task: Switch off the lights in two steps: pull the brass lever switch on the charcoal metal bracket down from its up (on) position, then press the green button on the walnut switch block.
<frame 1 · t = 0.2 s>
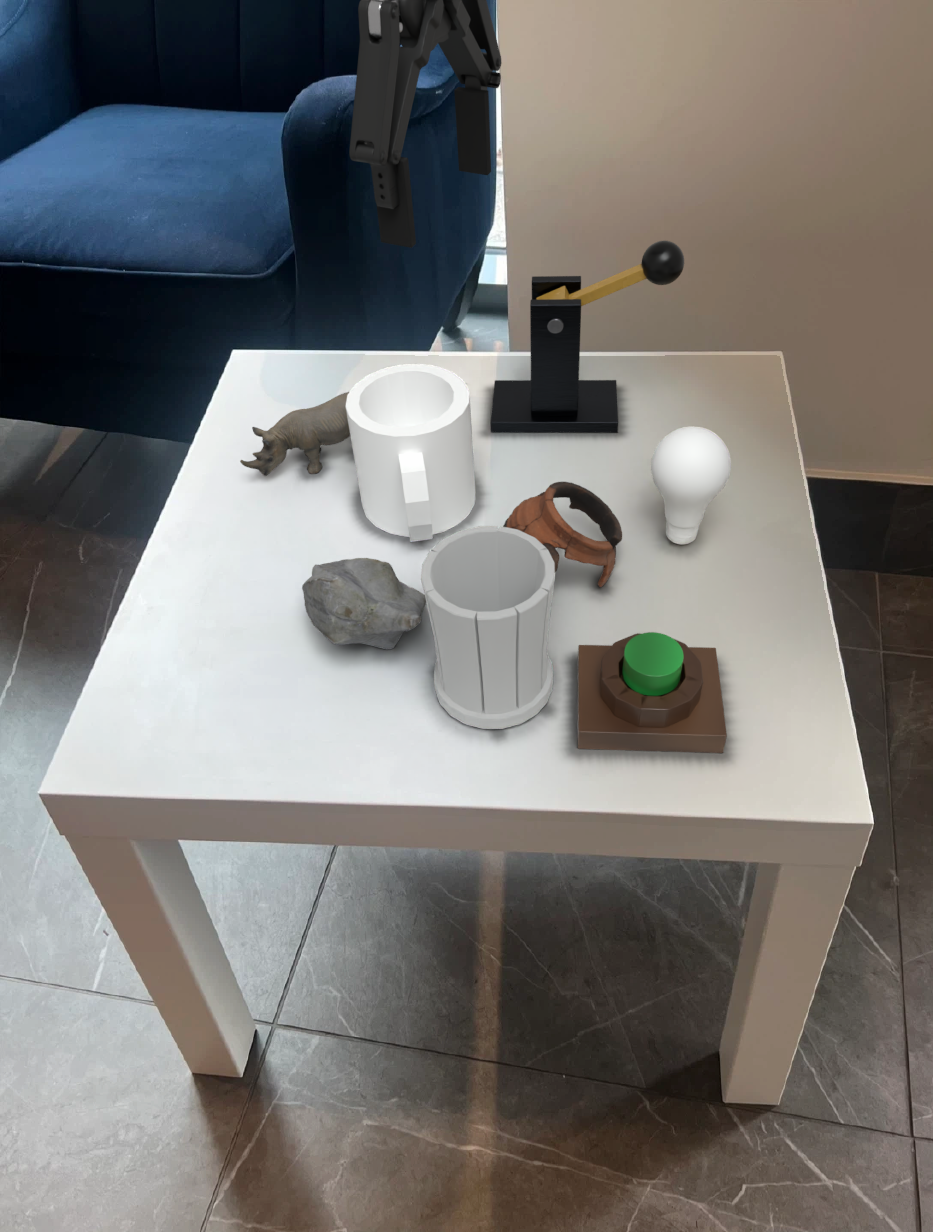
hand: (438, 205, 82), 21 cm above the table, tool pointing down, fingers open, 13 cm apart
lightbulb: (680, 542, 84), on the table
broken clay pot: (547, 578, 82), on the table
button block: (647, 705, 73), on the table
cup: (484, 681, 75), on the table
fossil: (372, 637, 79), on the table
switch bracket: (554, 410, 98), on the table
mug: (418, 508, 89), on the table
switch lever: (610, 285, 88), point 13 cm above the table, hinge at 25.0°
light button: (652, 663, 69), point 5 cm above the table, slide at 0.1 cm
rhino figurine: (315, 463, 94), on the table
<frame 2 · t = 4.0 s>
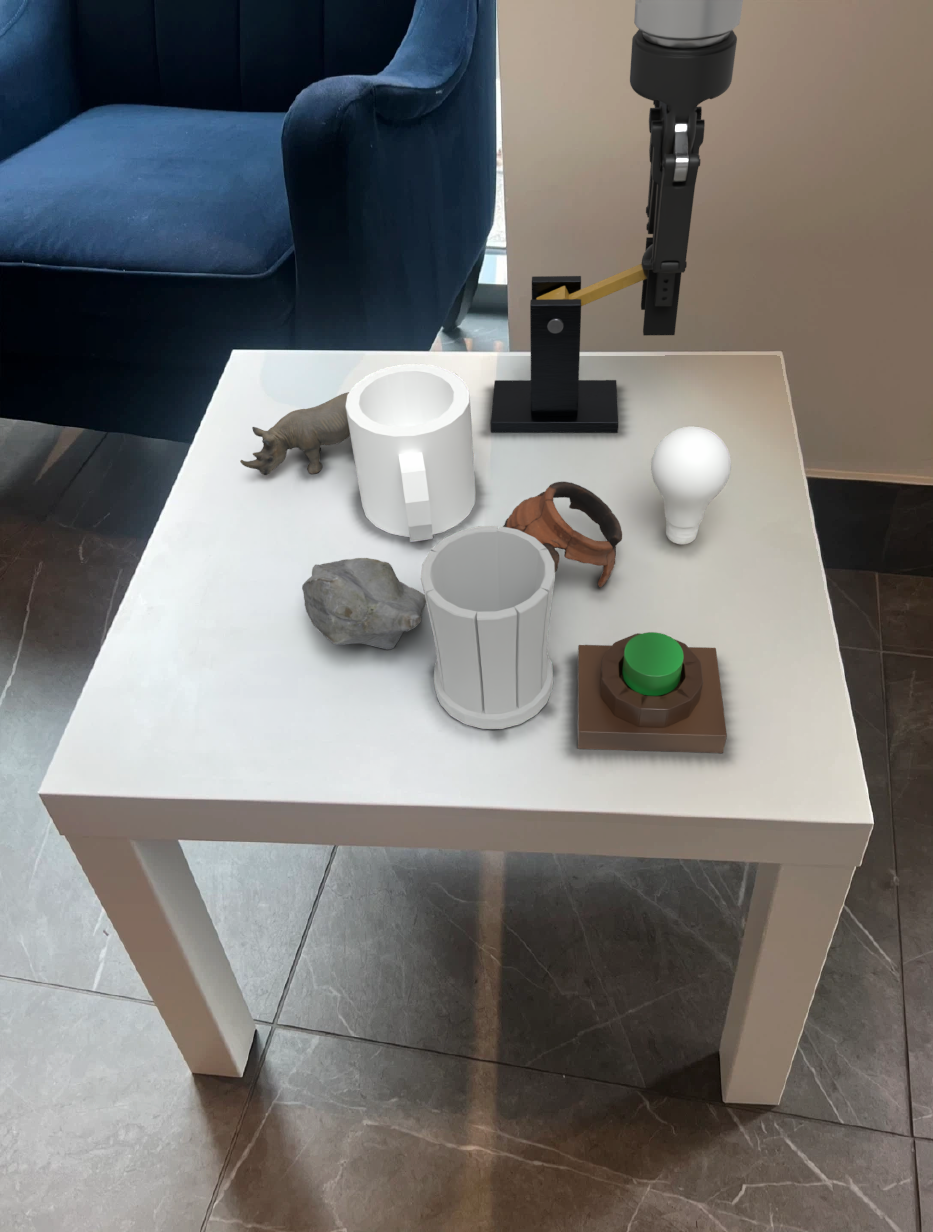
hand: (657, 319, 90), 10 cm above the table, tool pointing down, fingers closed on switch lever, 4 cm apart
switch lever: (610, 285, 88), point 13 cm above the table, hinge at 25.0°, touching gripper
everything else where it was.
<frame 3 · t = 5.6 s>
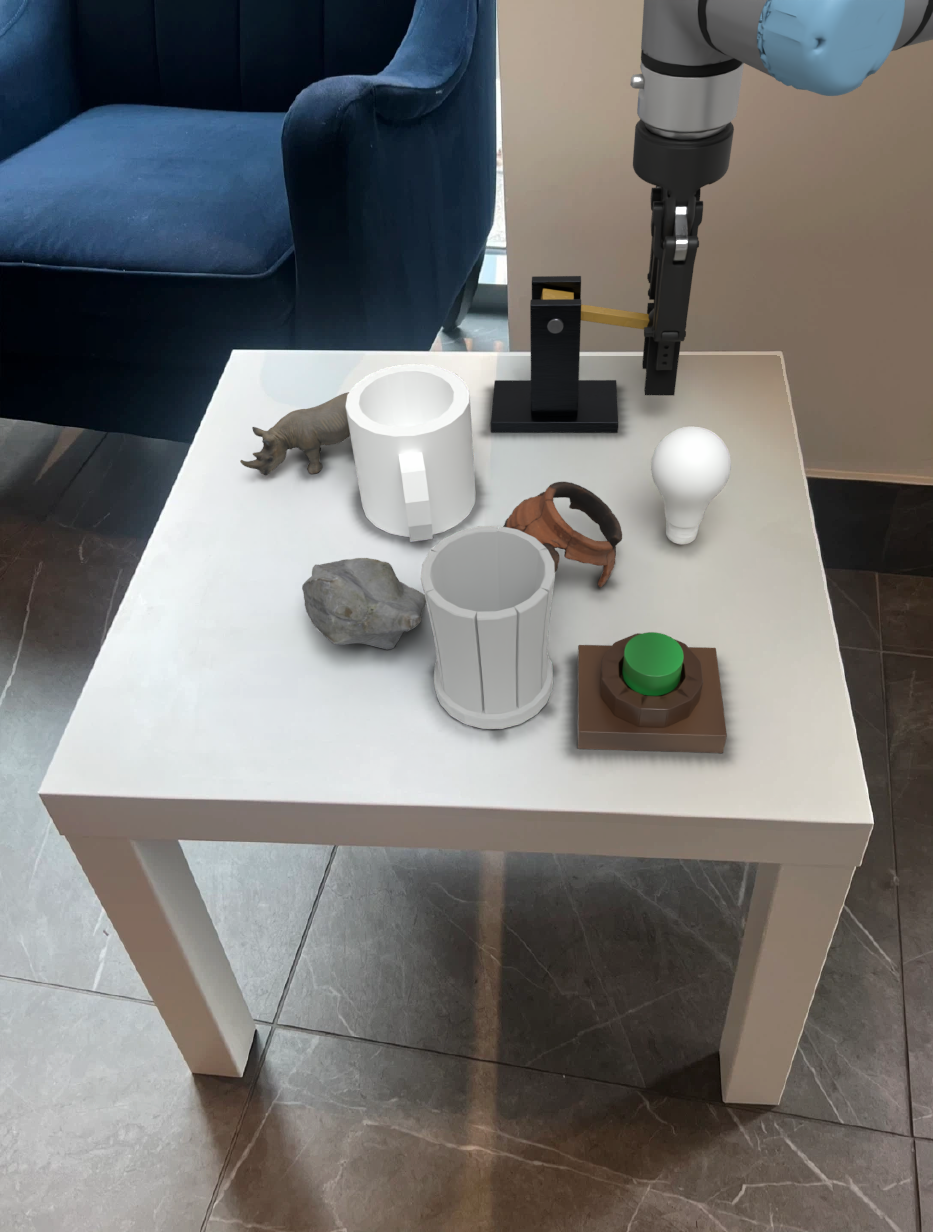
hand: (657, 379, 94), 4 cm above the table, tool pointing down, fingers closed on switch lever, 4 cm apart
switch lever: (613, 316, 90), point 10 cm above the table, hinge at -9.7°, touching gripper
everything else where it was.
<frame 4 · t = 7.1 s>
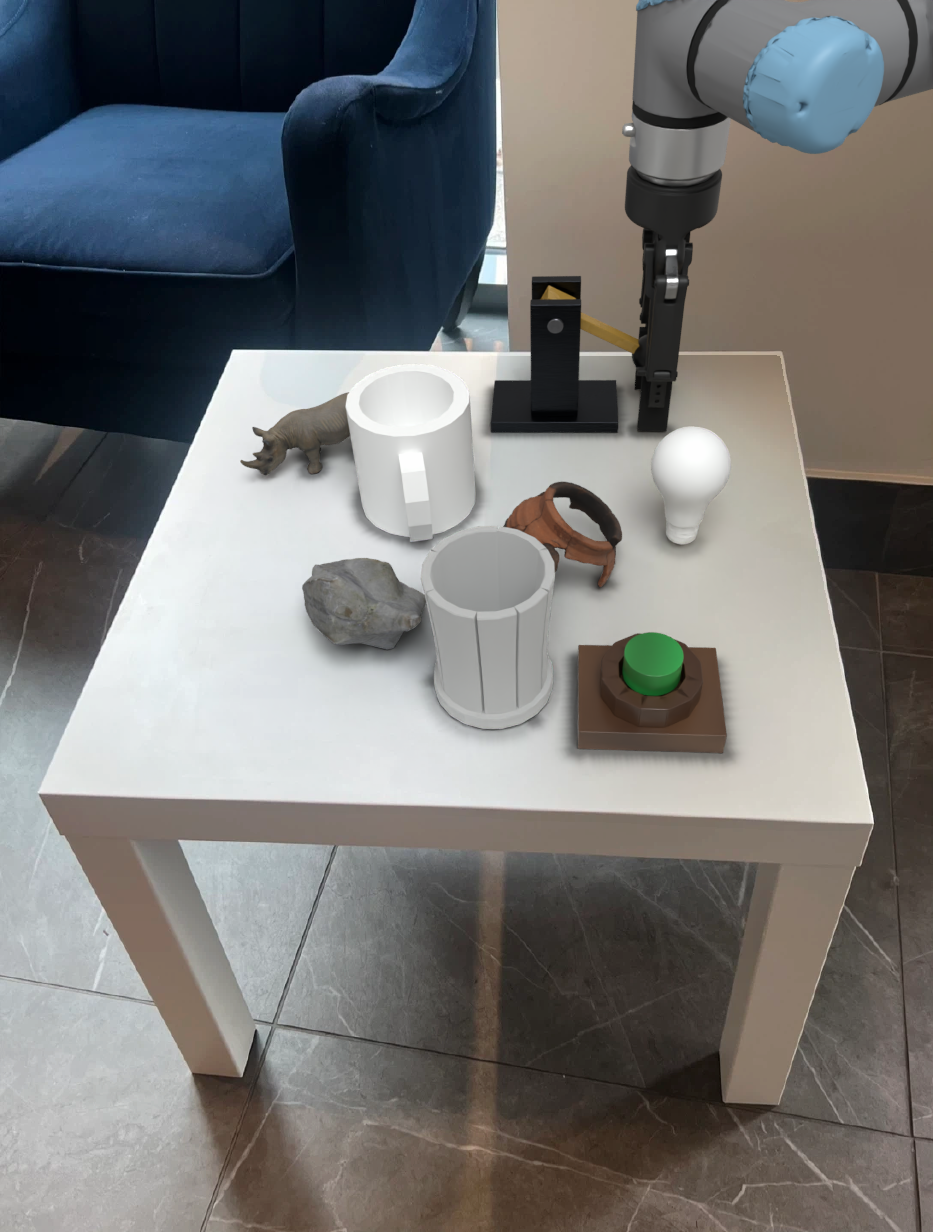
hand: (650, 407, 97), 0 cm above the table, tool pointing down, fingers open, 6 cm apart
switch lever: (606, 332, 91), point 9 cm above the table, hinge at -28.0°
everything else where it was.
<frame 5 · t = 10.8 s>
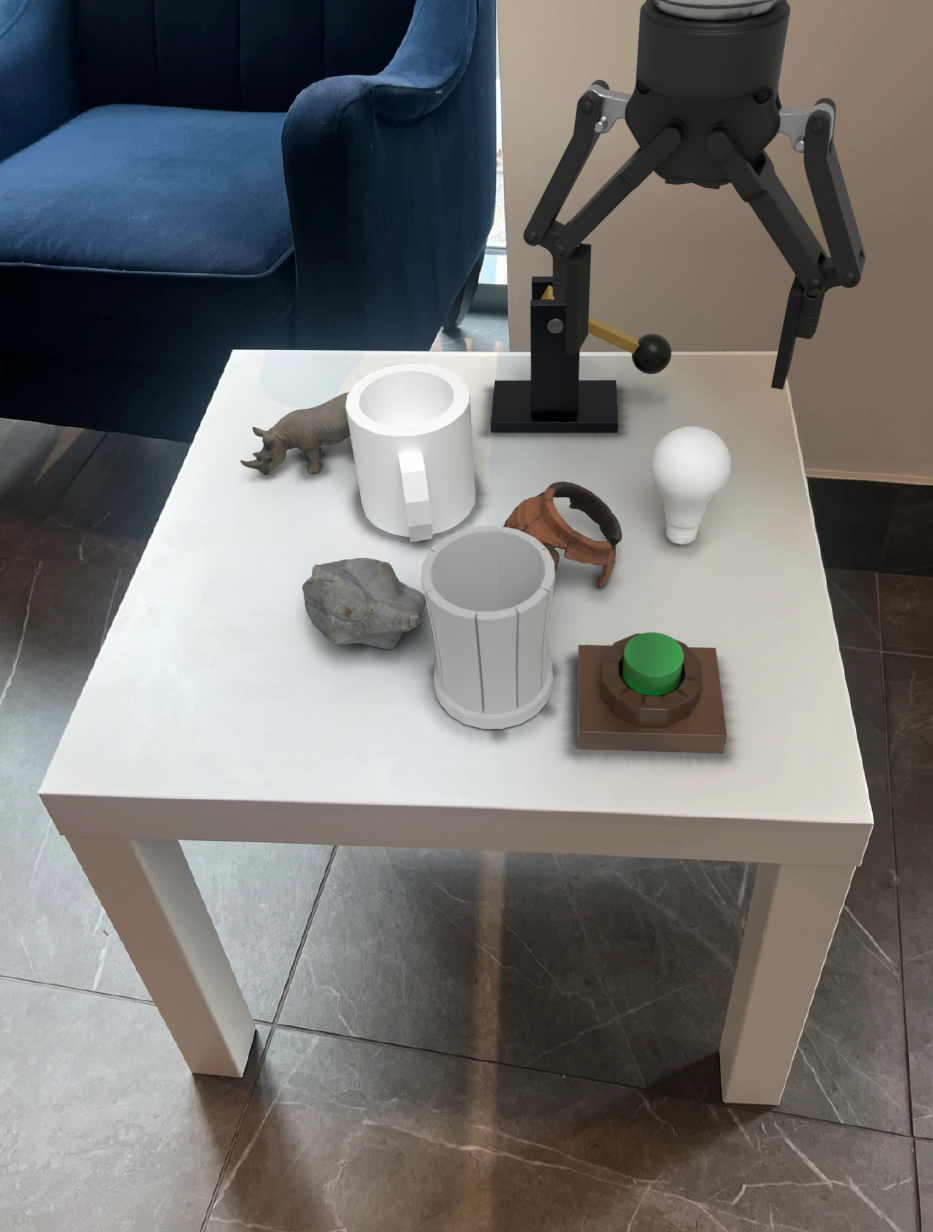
hand: (675, 360, 66), 20 cm above the table, tool pointing down, fingers open, 13 cm apart
nothing on the table moved.
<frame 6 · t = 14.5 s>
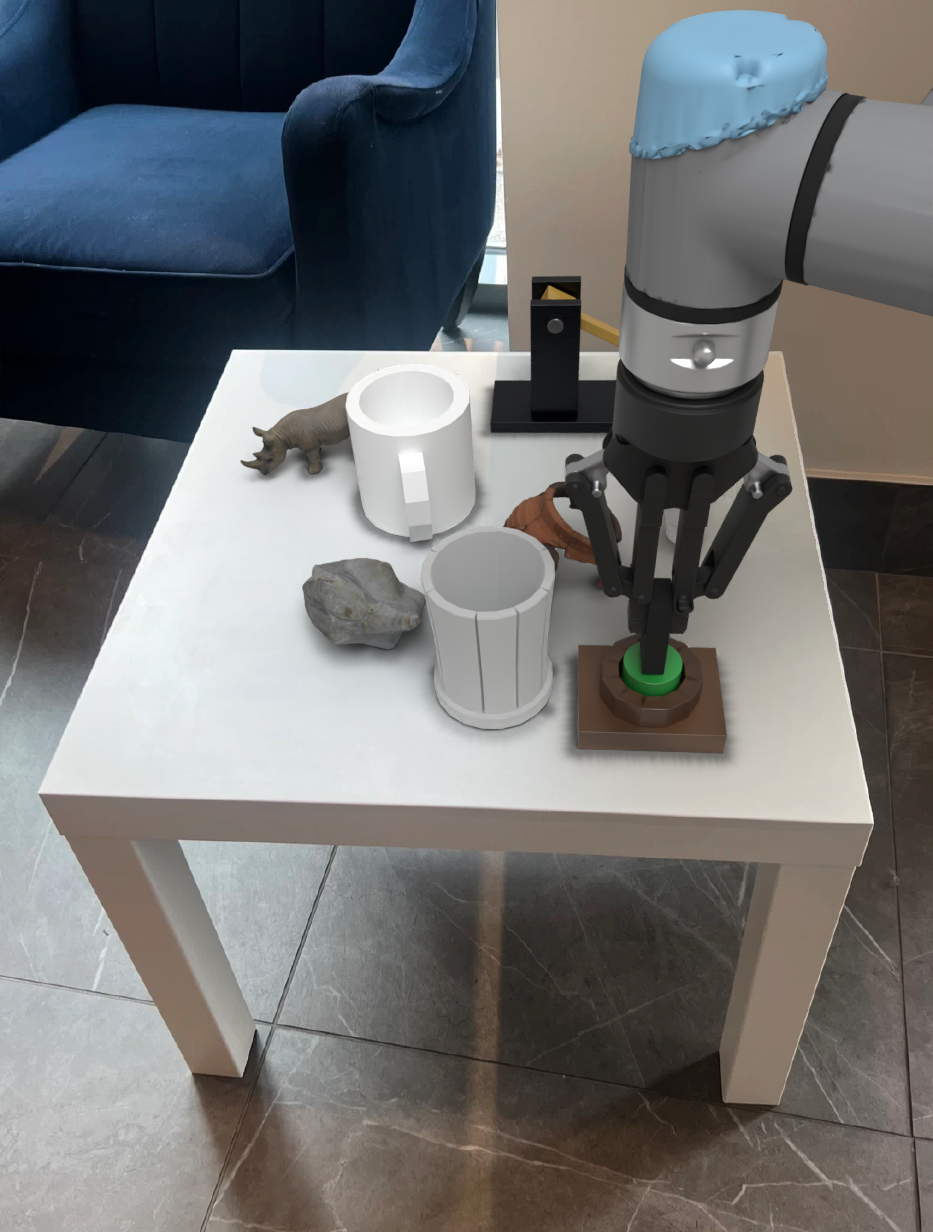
hand: (651, 658, 69), 5 cm above the table, tool pointing down, fingers closed
light button: (651, 671, 70), point 4 cm above the table, slide at -0.7 cm, touching gripper
everything else where it was.
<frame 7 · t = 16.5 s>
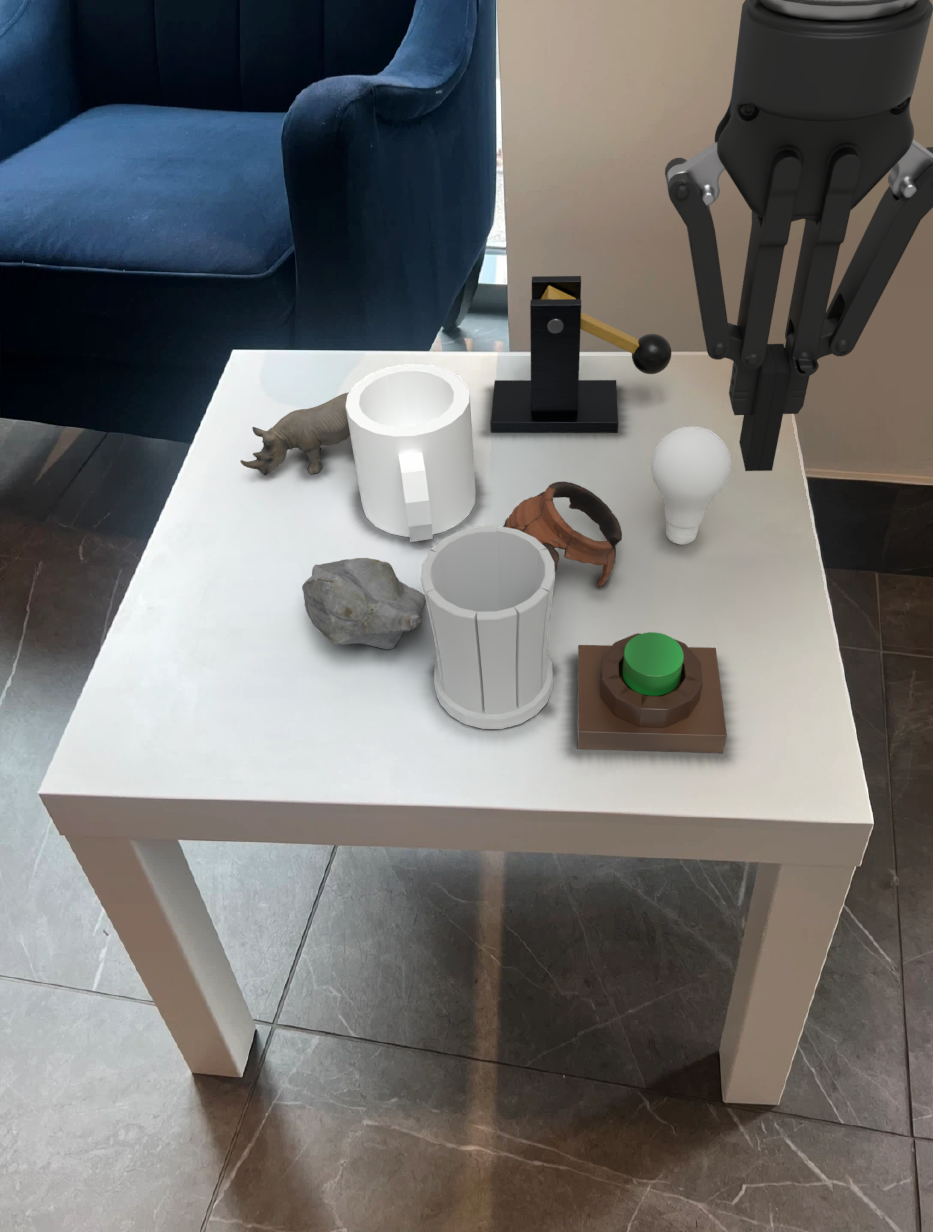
hand: (755, 455, 58), 21 cm above the table, tool pointing down, fingers closed
light button: (652, 663, 69), point 5 cm above the table, slide at 0.1 cm
everything else where it was.
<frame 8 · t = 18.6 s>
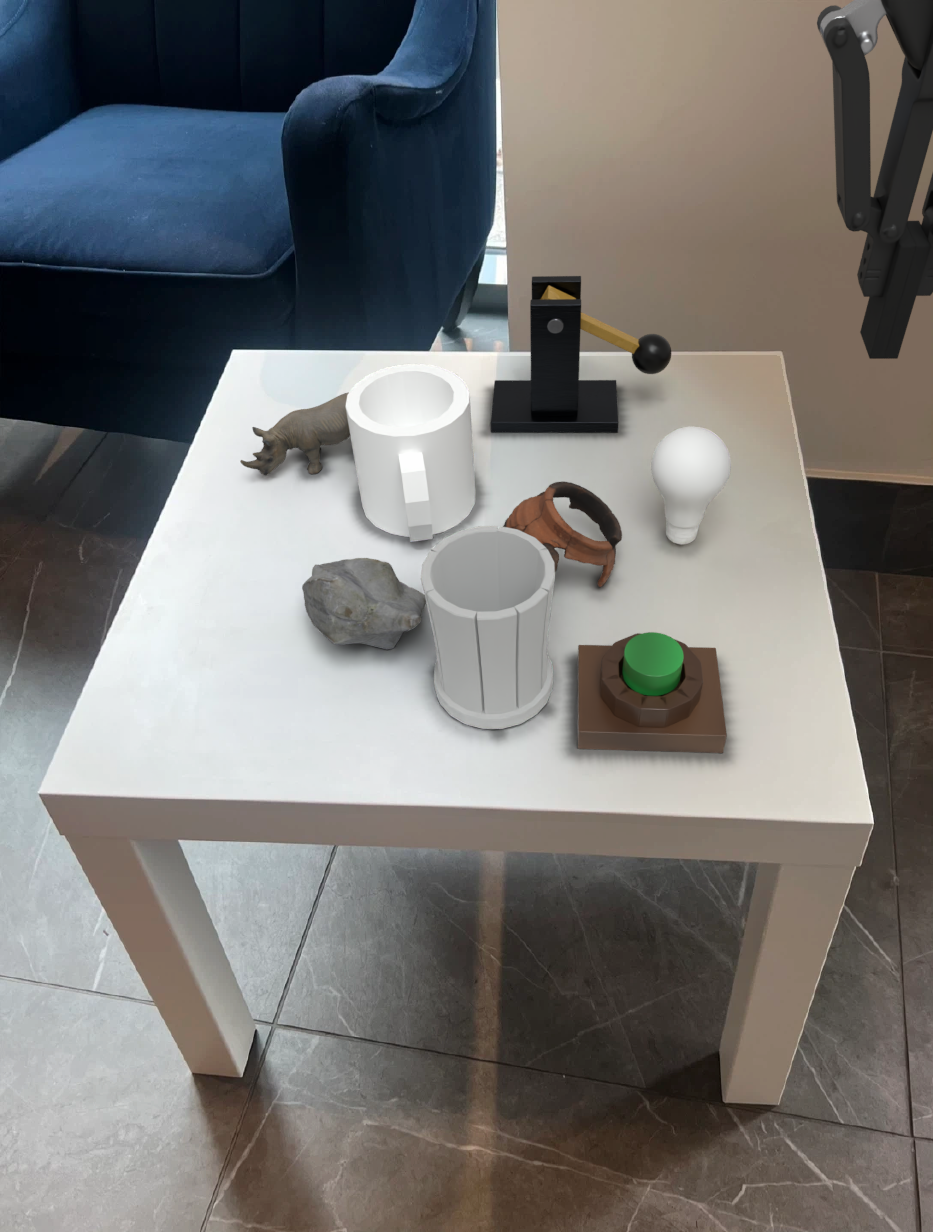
hand: (878, 344, 56), 26 cm above the table, tool pointing down, fingers closed
nothing on the table moved.
at the end: switch lever at -28° (first picture: +25°); light button pushed in 1.2 cm at the most during the clip, back to where it started at the end; light button slide at 0.1 cm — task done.
